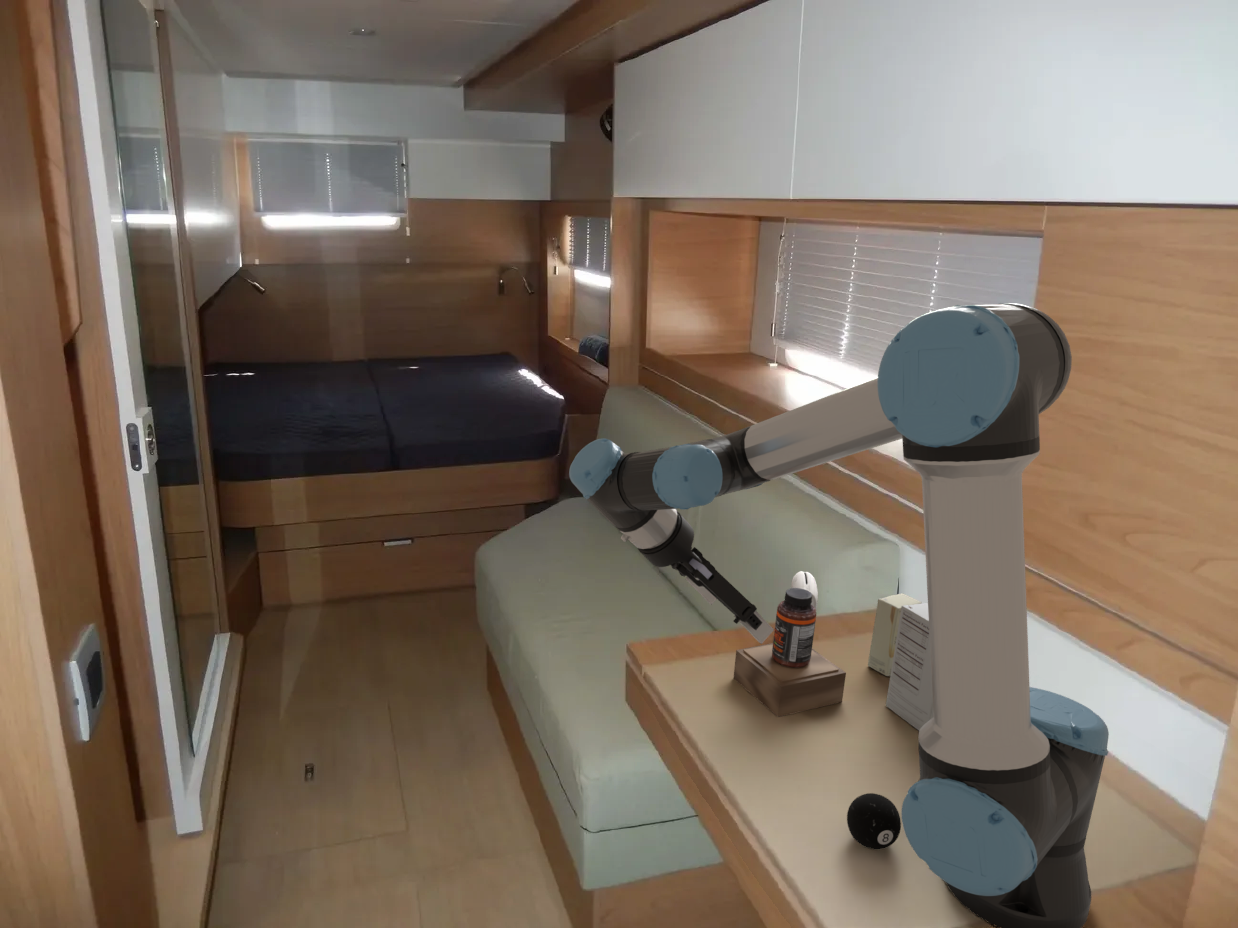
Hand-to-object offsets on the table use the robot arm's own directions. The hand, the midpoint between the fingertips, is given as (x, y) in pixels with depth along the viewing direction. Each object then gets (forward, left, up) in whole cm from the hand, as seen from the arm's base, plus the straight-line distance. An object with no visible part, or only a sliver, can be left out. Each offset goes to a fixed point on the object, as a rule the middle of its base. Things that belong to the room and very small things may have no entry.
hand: (740, 615), depth 131 cm
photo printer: (+13, -22, -14) cm, 29 cm away
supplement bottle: (0, -10, -9) cm, 14 cm away
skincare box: (0, -31, -14) cm, 34 cm away
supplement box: (-14, -26, -14) cm, 33 cm away
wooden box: (0, -10, -14) cm, 17 cm away
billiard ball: (-33, +2, -14) cm, 36 cm away
